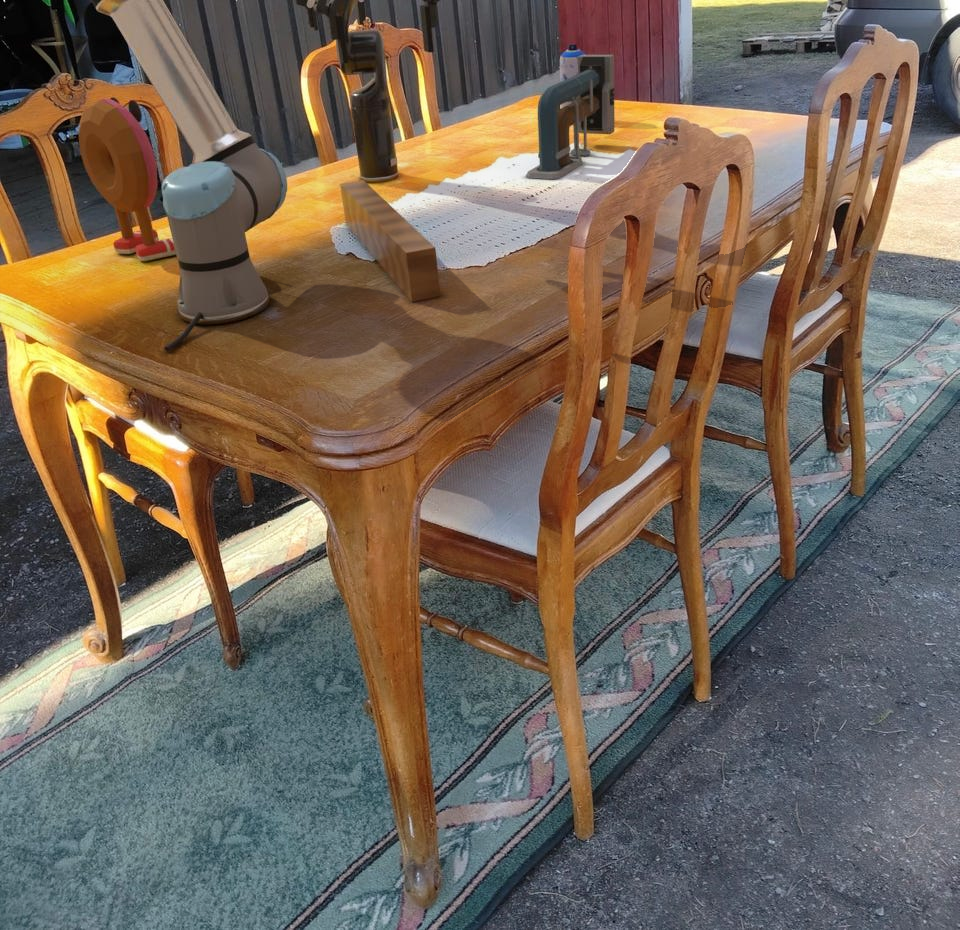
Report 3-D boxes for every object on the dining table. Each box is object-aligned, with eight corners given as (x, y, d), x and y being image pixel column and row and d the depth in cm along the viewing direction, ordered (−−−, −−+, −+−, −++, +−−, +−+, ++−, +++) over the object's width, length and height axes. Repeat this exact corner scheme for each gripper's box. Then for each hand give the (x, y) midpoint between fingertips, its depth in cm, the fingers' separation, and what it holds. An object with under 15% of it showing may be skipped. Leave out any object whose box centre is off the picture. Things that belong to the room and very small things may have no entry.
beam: (440, 296, 164) (435, 247, 159) (412, 302, 162) (406, 252, 158) (368, 220, 206) (363, 179, 201) (345, 224, 205) (339, 183, 200)
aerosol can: (559, 122, 275) (557, 47, 265) (562, 117, 282) (559, 42, 272) (587, 121, 274) (585, 45, 263) (589, 115, 280) (587, 41, 270)
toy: (199, 253, 194) (163, 96, 179) (154, 268, 188) (113, 106, 173) (144, 236, 207) (106, 89, 192) (101, 250, 201) (58, 98, 186)
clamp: (557, 179, 222) (554, 81, 212) (523, 177, 226) (518, 80, 215) (614, 143, 248) (614, 54, 237) (583, 142, 252) (581, 54, 241)
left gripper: (443, -108, 145) (455, 44, 156) (278, -94, 139) (303, 63, 150) (459, -110, 139) (470, 49, 150) (287, -95, 133) (312, 69, 144)
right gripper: (358, -77, 175) (370, 21, 183) (280, -70, 171) (296, 30, 180) (368, -77, 169) (380, 24, 177) (287, -69, 165) (303, 34, 173)
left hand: (387, 57), depth 150 cm, fingers open, 13 cm apart
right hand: (338, 27), depth 178 cm, fingers open, 8 cm apart
